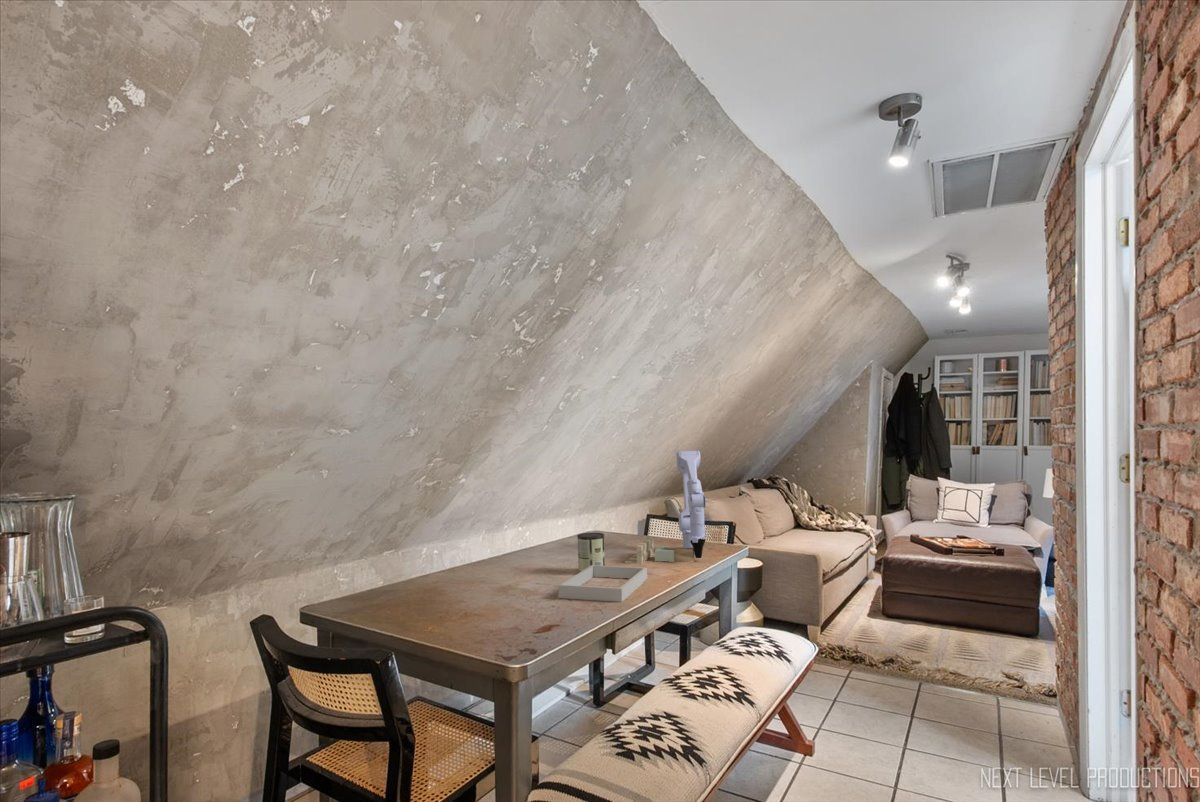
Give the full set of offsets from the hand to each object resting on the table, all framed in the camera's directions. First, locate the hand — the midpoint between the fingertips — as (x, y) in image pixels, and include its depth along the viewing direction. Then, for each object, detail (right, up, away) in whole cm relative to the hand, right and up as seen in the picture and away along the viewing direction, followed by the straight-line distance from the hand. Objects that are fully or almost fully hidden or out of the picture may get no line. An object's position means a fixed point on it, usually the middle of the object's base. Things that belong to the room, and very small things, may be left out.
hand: (698, 557), depth 254 cm
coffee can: (-43, -2, -15) cm, 46 cm away
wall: (-23, -2, +8) cm, 24 cm away
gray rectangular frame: (-38, 0, -41) cm, 56 cm away
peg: (-7, -2, +2) cm, 7 cm away
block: (-12, -2, +4) cm, 13 cm away
